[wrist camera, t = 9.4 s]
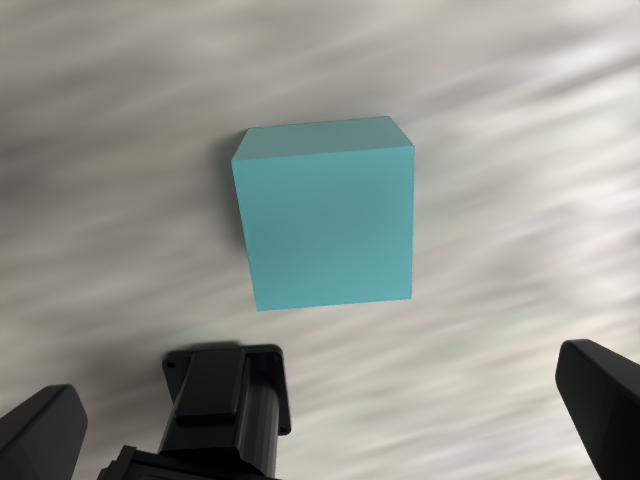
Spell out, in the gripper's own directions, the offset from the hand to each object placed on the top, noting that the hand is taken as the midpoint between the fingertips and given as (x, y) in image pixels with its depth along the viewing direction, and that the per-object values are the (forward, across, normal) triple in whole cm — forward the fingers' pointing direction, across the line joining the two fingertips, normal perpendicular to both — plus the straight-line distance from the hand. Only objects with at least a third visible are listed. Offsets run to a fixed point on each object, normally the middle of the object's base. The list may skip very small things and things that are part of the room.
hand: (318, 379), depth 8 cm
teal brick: (+13, -1, +1) cm, 13 cm away
